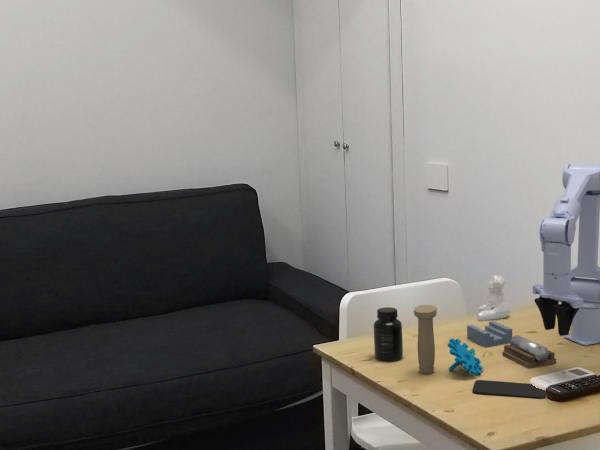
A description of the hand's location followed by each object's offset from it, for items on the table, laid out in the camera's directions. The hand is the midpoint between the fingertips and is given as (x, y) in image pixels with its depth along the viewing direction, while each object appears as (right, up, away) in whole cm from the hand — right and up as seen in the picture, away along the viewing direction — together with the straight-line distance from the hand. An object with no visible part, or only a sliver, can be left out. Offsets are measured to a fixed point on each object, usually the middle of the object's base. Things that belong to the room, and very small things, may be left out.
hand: (556, 332), depth 179 cm
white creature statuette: (-3, -2, +46) cm, 46 cm away
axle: (-3, -5, +10) cm, 12 cm away
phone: (-12, -12, -7) cm, 19 cm away
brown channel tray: (-3, -8, +11) cm, 14 cm away
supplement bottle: (-35, -9, +17) cm, 40 cm away
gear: (-19, -10, +5) cm, 22 cm away
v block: (-9, -6, +26) cm, 28 cm away
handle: (-28, -10, +6) cm, 30 cm away
